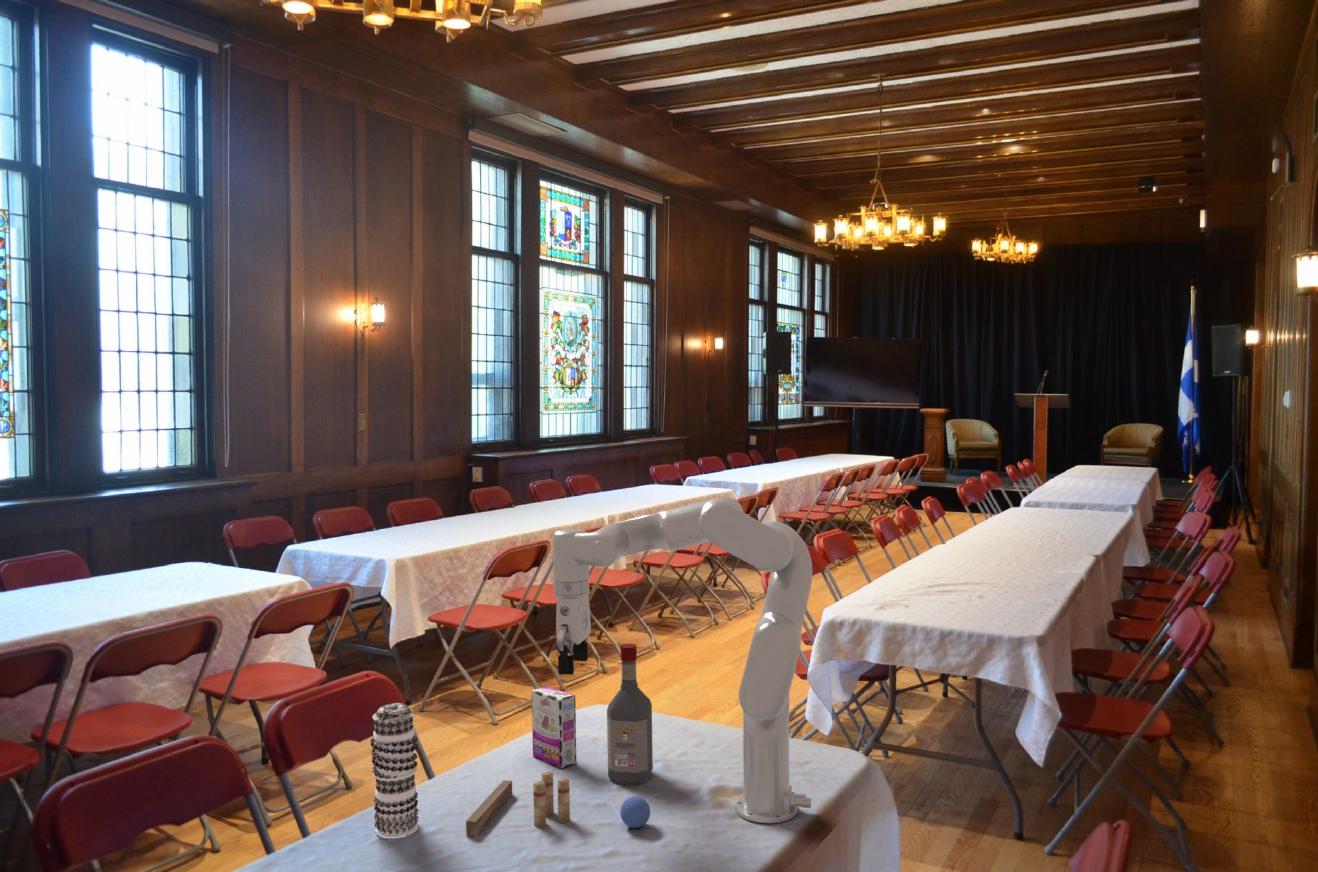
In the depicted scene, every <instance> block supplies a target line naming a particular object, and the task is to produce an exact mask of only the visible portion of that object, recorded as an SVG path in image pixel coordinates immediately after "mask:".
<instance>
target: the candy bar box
mask: <svg viewBox="0 0 1318 872" xmlns="http://www.w3.org/2000/svg"><path fill="white" fill-rule="evenodd" d="M576 708H577V707H576V695H575V694H572V693H569V692H566V691H562V690H560V689H558V688H557V689H556V688H553V687H550V686H549V685H547V686H542V687H539V688H535V689H532V690H531V718H532V719H531V721H532V724H531V725H532V726H531V727H532V757H533V758H535V759H537V760H538V761H542V762H544V763H547V764H549V765H551V766H553V767H554V766H555V767H556V768H559V769H565V768H567V767H571V766H574V765H575V764H577V728H576V727H577V725H576V724H577V715H576V714H577V713H576V710H577V709H576Z"/></svg>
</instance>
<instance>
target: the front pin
mask: <svg viewBox="0 0 1318 872" xmlns="http://www.w3.org/2000/svg"><path fill="white" fill-rule="evenodd" d="M556 781H557V820H558V823H560V824H567V823H569V822H571V800H570V789H571V788H570V778H569V777H566V776H565V777H564V776H562V777H559V778H557V780H556Z"/></svg>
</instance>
